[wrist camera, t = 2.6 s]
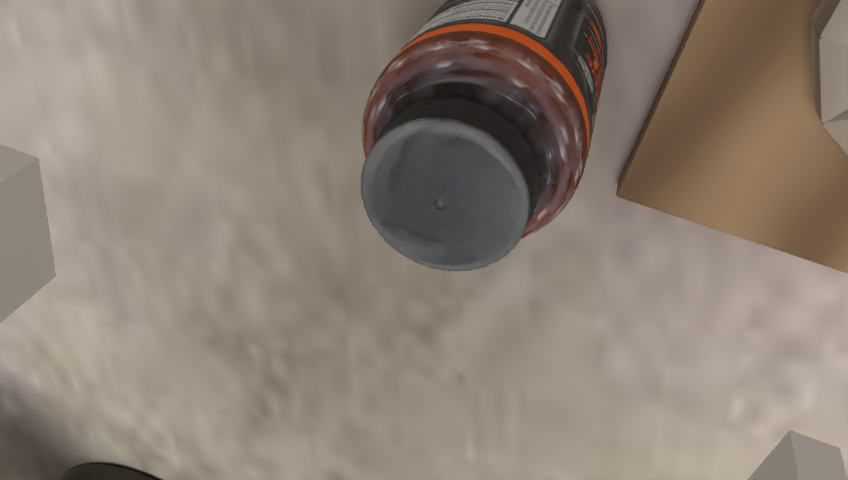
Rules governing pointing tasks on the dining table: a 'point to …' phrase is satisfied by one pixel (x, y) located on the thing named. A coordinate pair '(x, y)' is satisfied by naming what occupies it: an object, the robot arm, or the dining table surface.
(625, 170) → the ring board
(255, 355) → the dining table surface
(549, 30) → the supplement bottle
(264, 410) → the dining table surface
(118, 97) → the dining table surface
